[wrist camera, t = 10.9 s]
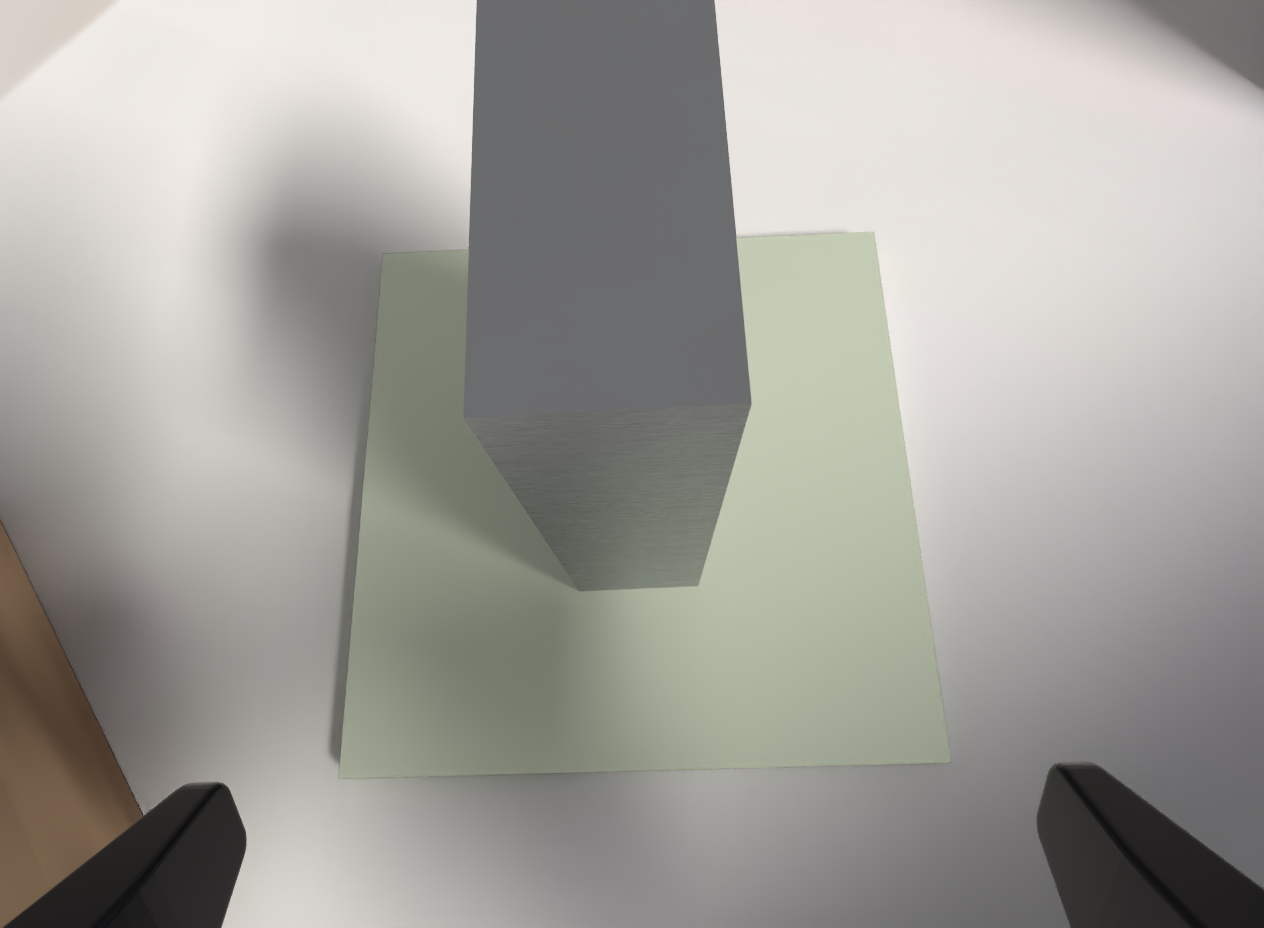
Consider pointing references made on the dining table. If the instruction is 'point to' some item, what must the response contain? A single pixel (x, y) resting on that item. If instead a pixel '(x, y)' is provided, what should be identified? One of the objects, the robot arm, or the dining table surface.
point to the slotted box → (47, 755)
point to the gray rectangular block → (606, 281)
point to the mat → (653, 617)
